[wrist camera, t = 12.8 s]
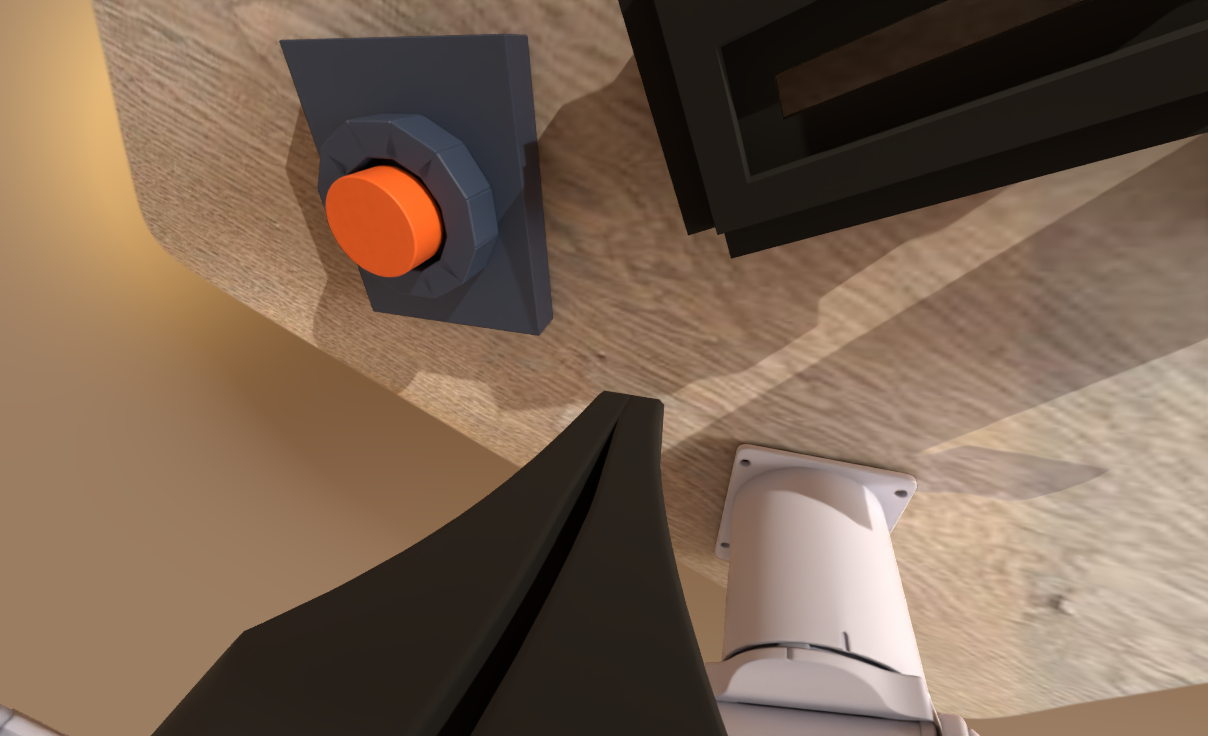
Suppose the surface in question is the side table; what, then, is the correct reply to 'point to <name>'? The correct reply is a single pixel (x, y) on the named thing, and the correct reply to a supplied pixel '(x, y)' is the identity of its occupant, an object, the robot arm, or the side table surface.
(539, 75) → the side table surface
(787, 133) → the tool
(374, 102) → the button box
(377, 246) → the button
